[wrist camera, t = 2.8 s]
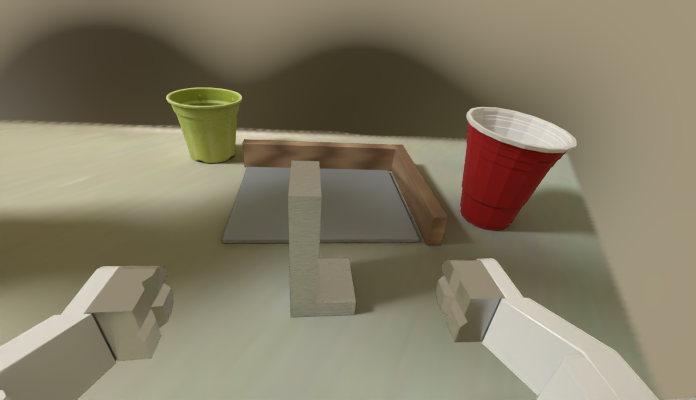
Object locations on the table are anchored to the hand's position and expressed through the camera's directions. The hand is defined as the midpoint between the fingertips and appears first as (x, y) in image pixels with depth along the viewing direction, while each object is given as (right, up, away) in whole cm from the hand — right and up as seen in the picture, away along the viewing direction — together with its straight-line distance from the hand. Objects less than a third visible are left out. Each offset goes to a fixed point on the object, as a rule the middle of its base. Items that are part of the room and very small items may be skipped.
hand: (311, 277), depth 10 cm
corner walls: (-2, +3, +31) cm, 31 cm away
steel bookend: (-1, -5, +18) cm, 19 cm away
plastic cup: (+18, 0, +30) cm, 35 cm away
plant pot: (-19, +9, +39) cm, 44 cm away
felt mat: (-2, +2, +30) cm, 30 cm away
